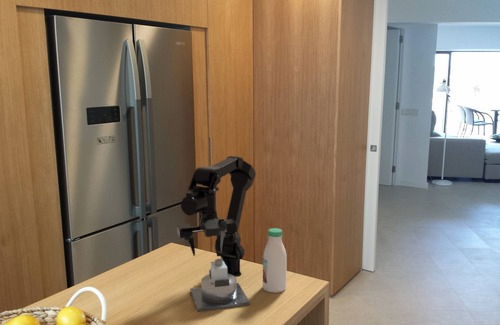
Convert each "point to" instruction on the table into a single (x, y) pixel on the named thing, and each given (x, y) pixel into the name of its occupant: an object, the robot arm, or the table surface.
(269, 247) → the milk bottle
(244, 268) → the table surface
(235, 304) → the grey stacked fixture
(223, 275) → the pump
